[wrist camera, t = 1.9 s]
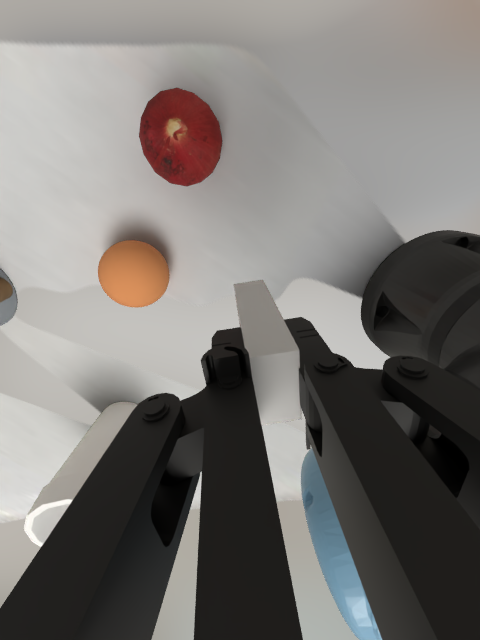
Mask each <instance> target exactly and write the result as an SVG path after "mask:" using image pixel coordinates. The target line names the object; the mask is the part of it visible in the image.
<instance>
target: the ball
mask: <svg viewBox="0 0 480 640" xmlns="http://www.w3.org/2000/svg"><path fill="white" fill-rule="evenodd" d="M98 277H99V281H100V284H101V286H102V288H103V290H104V291H105V293H106V294H107V295H108V296H109V297H110V298H111V299H112V300H114V301H115V302H117V303H119V304H121V305H124V306H128V307H144V306H148V305H150V304H152V303H154V302H156V301H157V300H158V299H159V298H160V297H161V296H162V295H163V294H164V292H165V291H166V289H167V286H168V283H169V269H168V265H167V263H166V261H165V259H164V257H163V256H162V255H161V253H160V252H159V251H158V250H157V249H155V248H154V247H153V246H151V245H149V244H147V243H144V242H141V241H135V240H127V241H122V242H119V243H116V244H114V245H113V246H111V247H110V248H109V249H108V250H106V252H105V253H104V254H103V256H102V258H101V260H100V262H99V266H98Z"/></svg>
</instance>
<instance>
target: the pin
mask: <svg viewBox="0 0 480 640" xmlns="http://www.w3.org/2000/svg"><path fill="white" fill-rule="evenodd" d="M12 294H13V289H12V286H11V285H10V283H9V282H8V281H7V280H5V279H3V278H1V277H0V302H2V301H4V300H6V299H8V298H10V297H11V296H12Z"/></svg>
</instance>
